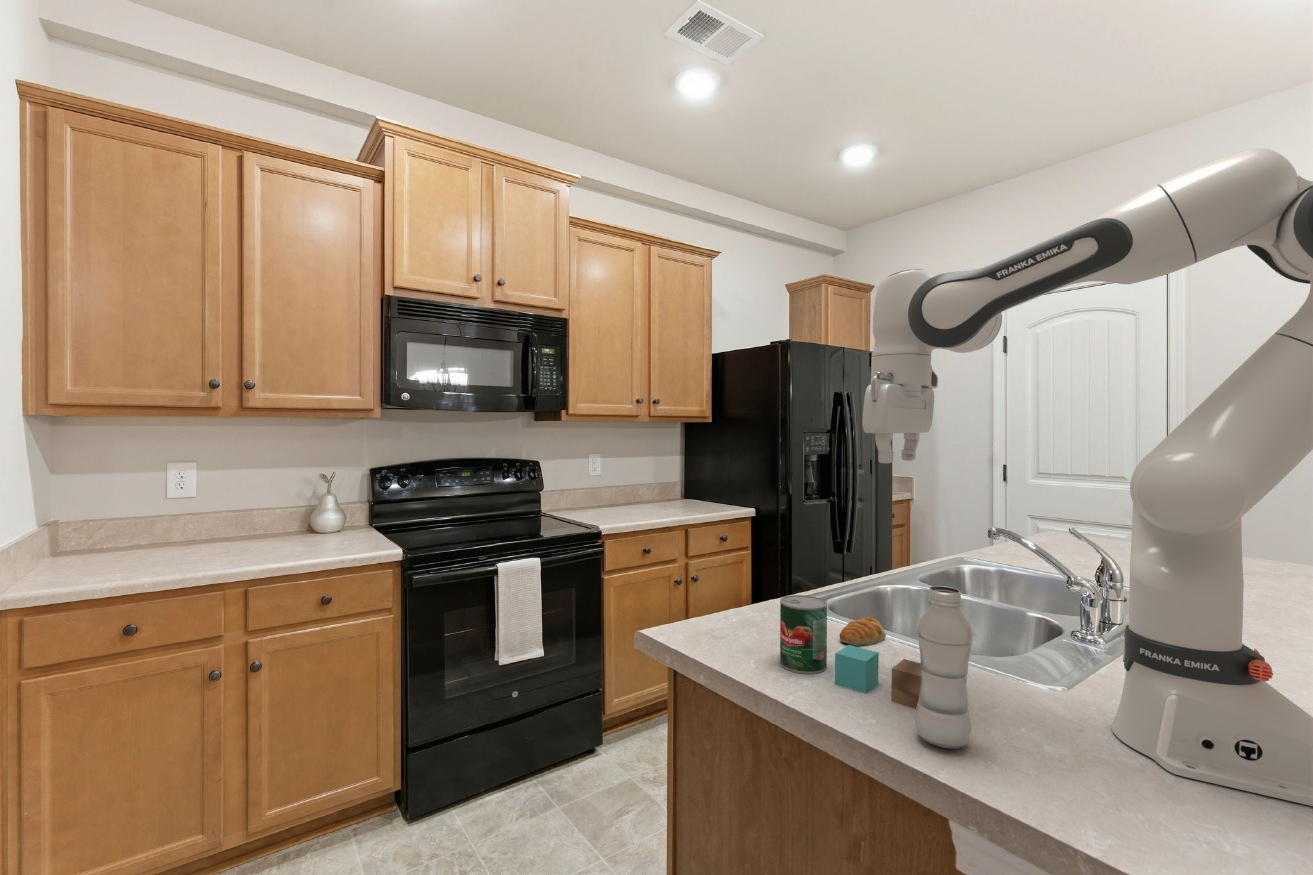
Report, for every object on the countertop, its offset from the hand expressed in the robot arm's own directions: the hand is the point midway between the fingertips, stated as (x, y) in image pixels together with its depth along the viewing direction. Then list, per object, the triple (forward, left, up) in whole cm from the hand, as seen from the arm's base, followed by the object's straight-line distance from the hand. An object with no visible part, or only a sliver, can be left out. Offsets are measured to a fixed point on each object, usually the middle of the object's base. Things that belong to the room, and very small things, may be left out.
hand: (897, 461), depth 98 cm
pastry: (+12, -15, -36) cm, 41 cm away
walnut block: (-5, +5, -36) cm, 36 cm away
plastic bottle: (-12, +15, -36) cm, 40 cm away
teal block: (+4, +5, -36) cm, 36 cm away
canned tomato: (+14, +4, -36) cm, 39 cm away
